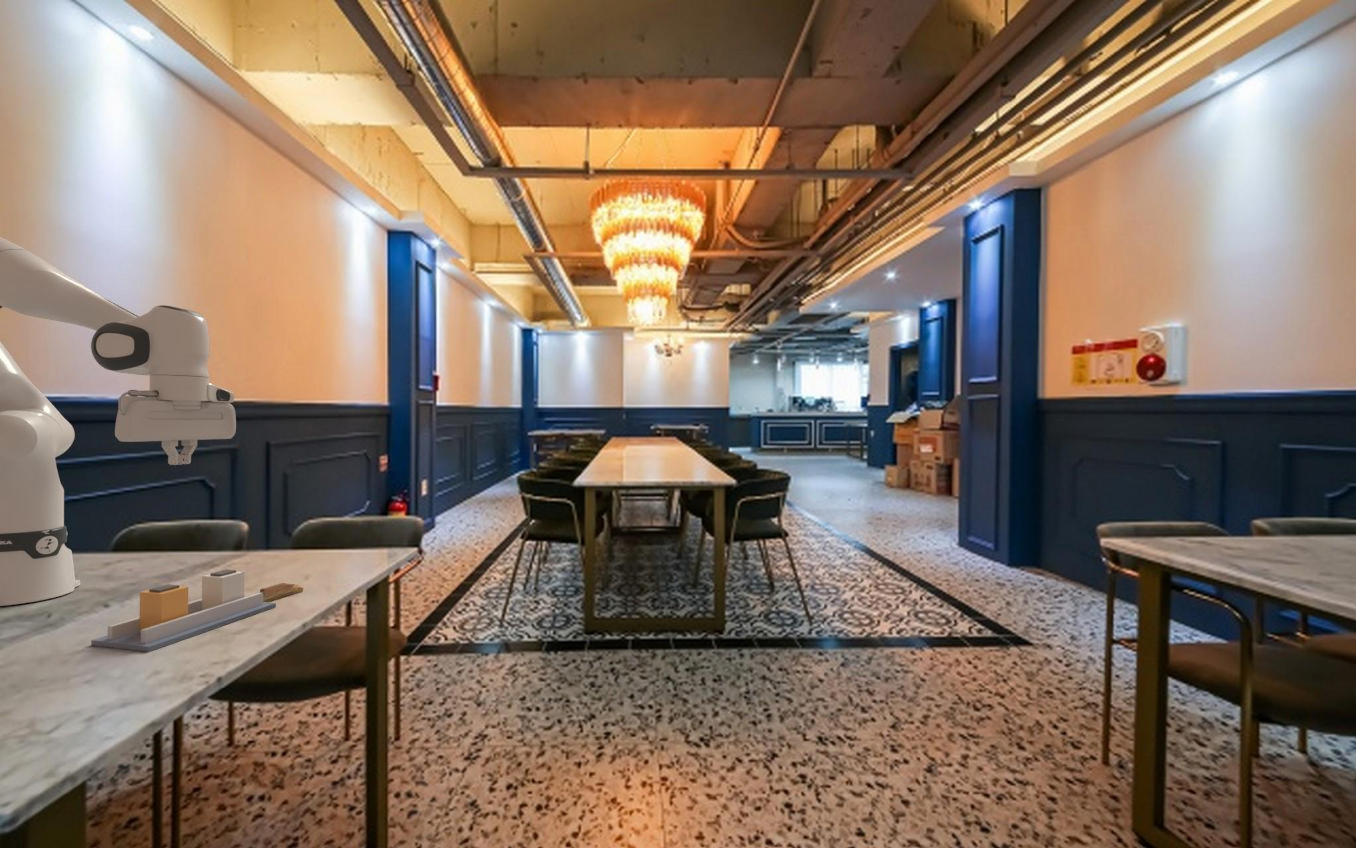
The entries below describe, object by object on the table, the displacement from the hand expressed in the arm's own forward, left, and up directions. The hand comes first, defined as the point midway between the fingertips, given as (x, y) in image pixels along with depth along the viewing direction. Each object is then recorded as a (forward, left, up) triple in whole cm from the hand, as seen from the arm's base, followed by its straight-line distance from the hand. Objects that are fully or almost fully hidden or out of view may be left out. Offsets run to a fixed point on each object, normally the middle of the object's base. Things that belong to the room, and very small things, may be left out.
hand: (179, 464), depth 115 cm
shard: (+7, +16, -30) cm, 35 cm away
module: (+7, -8, -28) cm, 30 cm away
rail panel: (+7, -3, -29) cm, 30 cm away
